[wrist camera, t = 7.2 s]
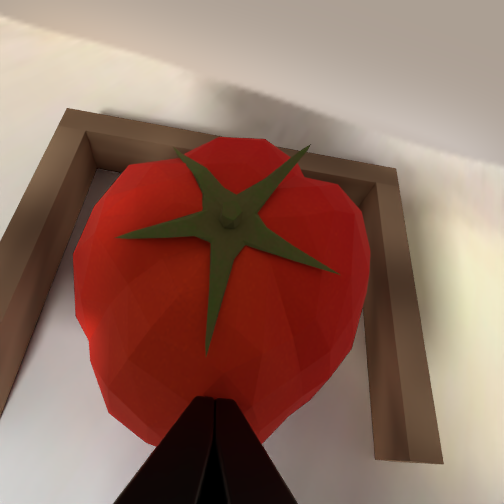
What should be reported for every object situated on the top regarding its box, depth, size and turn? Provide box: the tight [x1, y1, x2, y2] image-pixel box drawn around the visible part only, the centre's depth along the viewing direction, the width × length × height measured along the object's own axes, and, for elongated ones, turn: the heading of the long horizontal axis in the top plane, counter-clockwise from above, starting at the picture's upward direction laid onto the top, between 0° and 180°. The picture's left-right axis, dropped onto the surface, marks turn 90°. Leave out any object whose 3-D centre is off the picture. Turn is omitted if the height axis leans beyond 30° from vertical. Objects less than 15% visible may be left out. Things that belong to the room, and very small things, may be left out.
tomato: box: [73, 137, 370, 447], centre depth 12 cm, size 9×10×8 cm
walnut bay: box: [0, 108, 444, 464], centre depth 15 cm, size 13×16×2 cm
